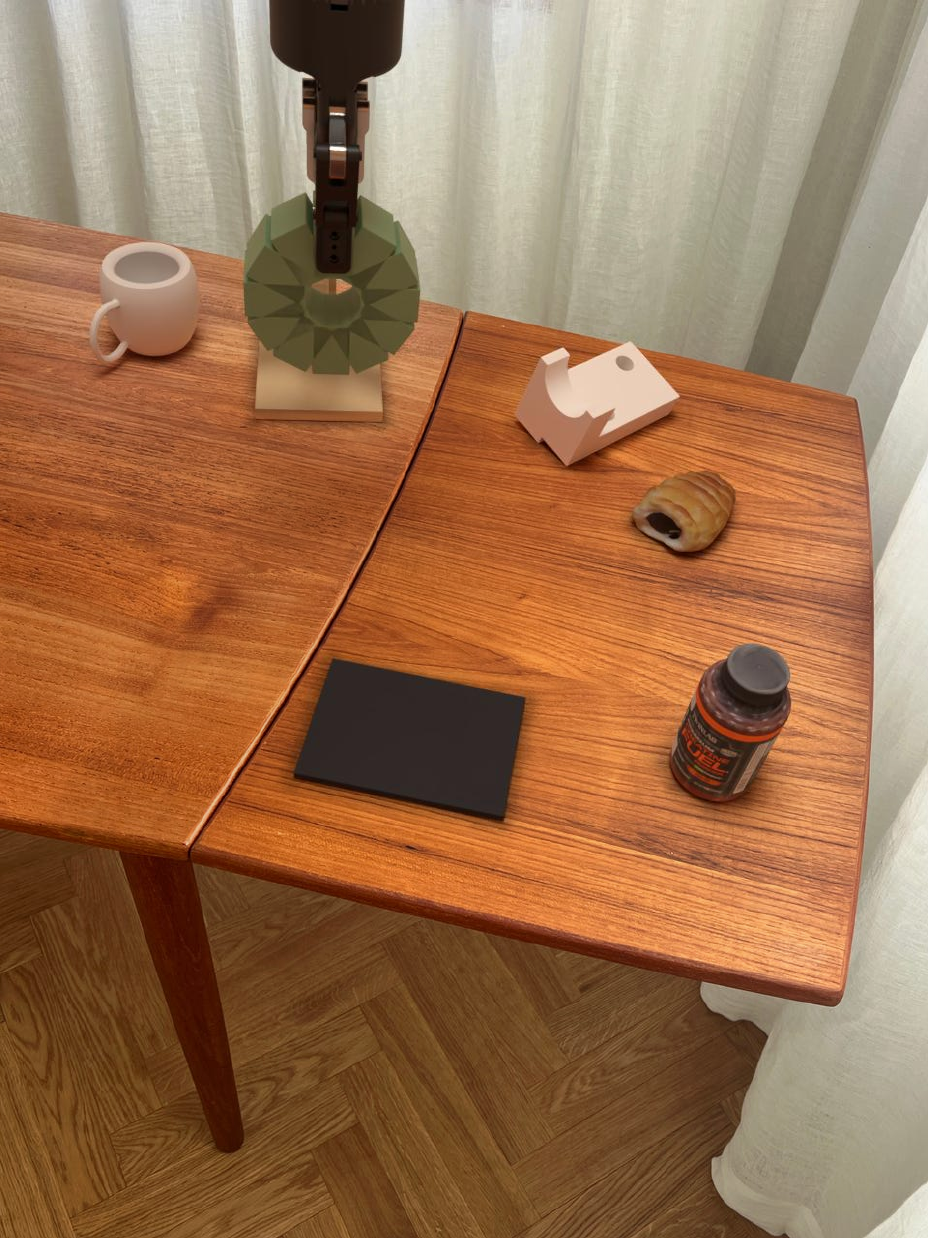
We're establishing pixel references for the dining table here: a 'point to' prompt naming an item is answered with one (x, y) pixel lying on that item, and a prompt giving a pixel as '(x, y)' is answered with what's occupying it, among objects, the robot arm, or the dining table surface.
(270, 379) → the peg stand with base
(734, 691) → the supplement bottle
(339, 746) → the mat
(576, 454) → the bracket
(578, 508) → the dining table surface
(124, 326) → the mug
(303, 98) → the robot arm
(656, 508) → the pastry
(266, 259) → the green grooved wheel
